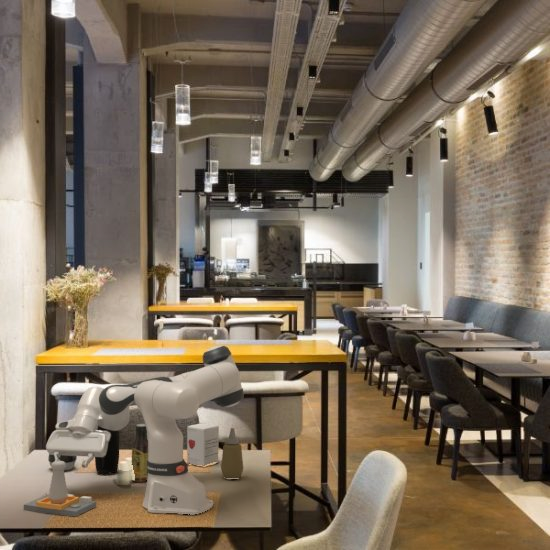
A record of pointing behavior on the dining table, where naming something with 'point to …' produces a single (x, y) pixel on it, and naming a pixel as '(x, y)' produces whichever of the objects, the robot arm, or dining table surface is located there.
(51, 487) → the salt shaker
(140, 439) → the sauce bottle
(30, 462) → the dining table surface
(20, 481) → the dining table surface
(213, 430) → the supplement box
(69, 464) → the black rounded piece
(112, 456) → the portable speaker
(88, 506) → the panel
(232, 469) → the squeeze bottle
